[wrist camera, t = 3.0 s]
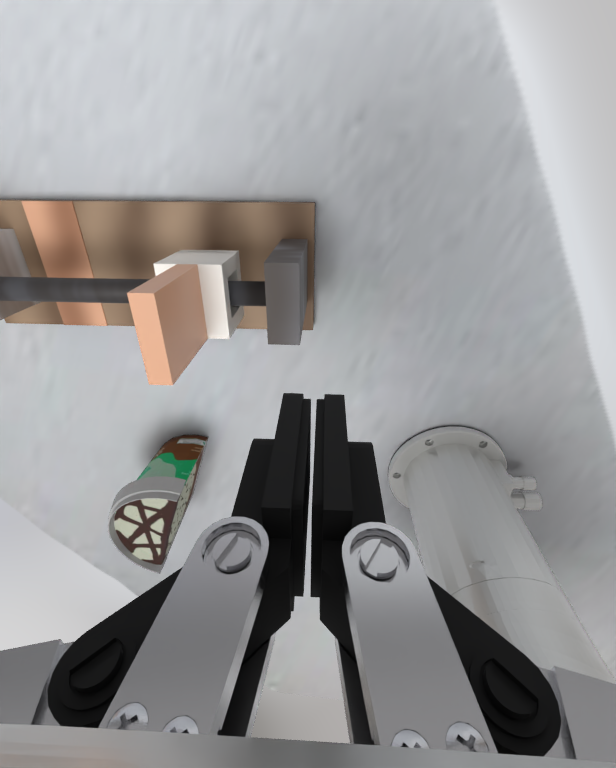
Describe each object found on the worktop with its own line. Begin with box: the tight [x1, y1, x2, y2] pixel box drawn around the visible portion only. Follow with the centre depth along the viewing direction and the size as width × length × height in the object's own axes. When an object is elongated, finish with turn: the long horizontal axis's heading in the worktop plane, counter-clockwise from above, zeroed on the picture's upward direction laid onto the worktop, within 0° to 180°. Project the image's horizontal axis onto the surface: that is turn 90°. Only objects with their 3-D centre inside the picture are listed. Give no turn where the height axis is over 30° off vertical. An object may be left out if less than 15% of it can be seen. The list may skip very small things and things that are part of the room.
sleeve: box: [127, 250, 244, 385], centre depth 22 cm, size 4×5×11 cm
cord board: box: [0, 200, 315, 345], centre depth 26 cm, size 28×10×12 cm, turn 90°
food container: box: [108, 435, 208, 574], centre depth 38 cm, size 12×6×10 cm, turn 161°
